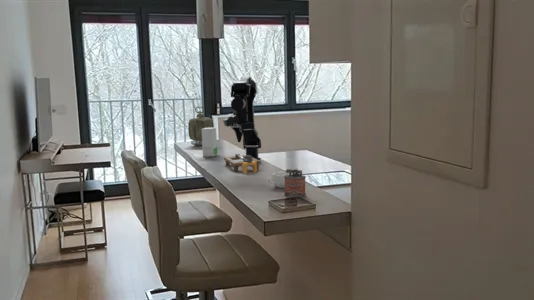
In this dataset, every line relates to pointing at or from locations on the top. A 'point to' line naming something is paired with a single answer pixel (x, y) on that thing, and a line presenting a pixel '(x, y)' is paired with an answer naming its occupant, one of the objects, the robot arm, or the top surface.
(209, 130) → the skincare box
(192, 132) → the tabletop clock
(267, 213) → the top surface
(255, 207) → the top surface
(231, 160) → the wooden frame with rod
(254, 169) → the yellow block
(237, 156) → the silver metal rod
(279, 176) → the teacup
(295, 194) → the lighter
